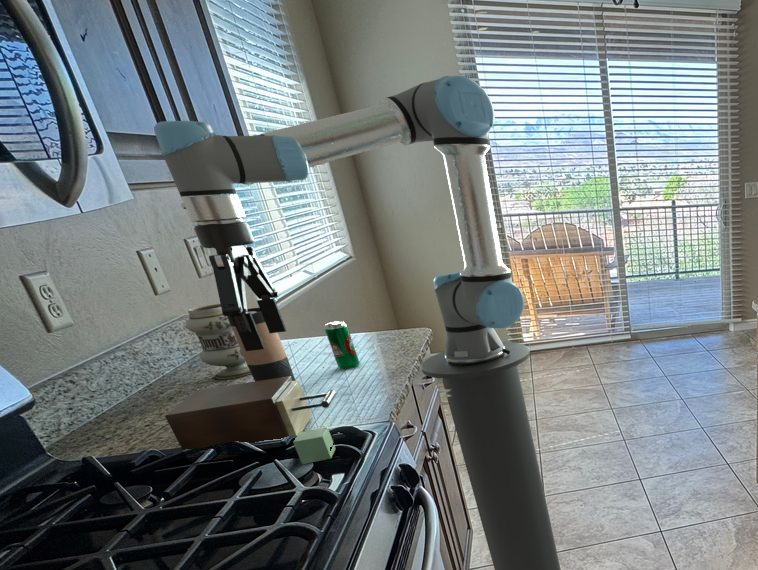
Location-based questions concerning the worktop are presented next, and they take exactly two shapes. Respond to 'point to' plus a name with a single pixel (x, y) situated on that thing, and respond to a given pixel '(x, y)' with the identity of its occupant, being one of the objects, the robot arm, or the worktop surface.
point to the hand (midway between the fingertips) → (267, 340)
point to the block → (314, 445)
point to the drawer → (298, 407)
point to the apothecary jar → (217, 341)
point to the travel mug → (265, 352)
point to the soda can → (341, 345)
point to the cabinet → (229, 415)
